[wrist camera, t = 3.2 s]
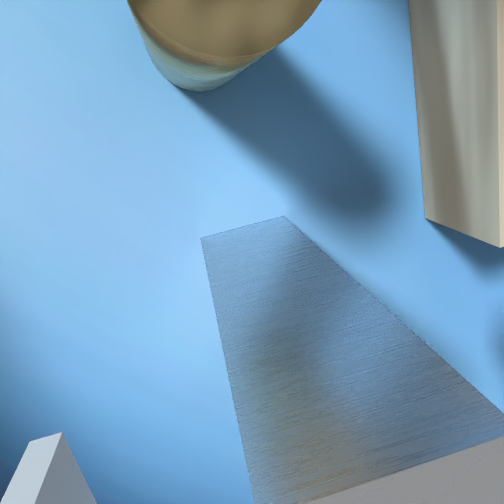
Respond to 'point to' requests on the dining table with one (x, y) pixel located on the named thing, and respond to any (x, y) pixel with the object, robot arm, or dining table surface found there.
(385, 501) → the square bit
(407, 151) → the dining table surface
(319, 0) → the round bit
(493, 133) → the socket block
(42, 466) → the robot arm
